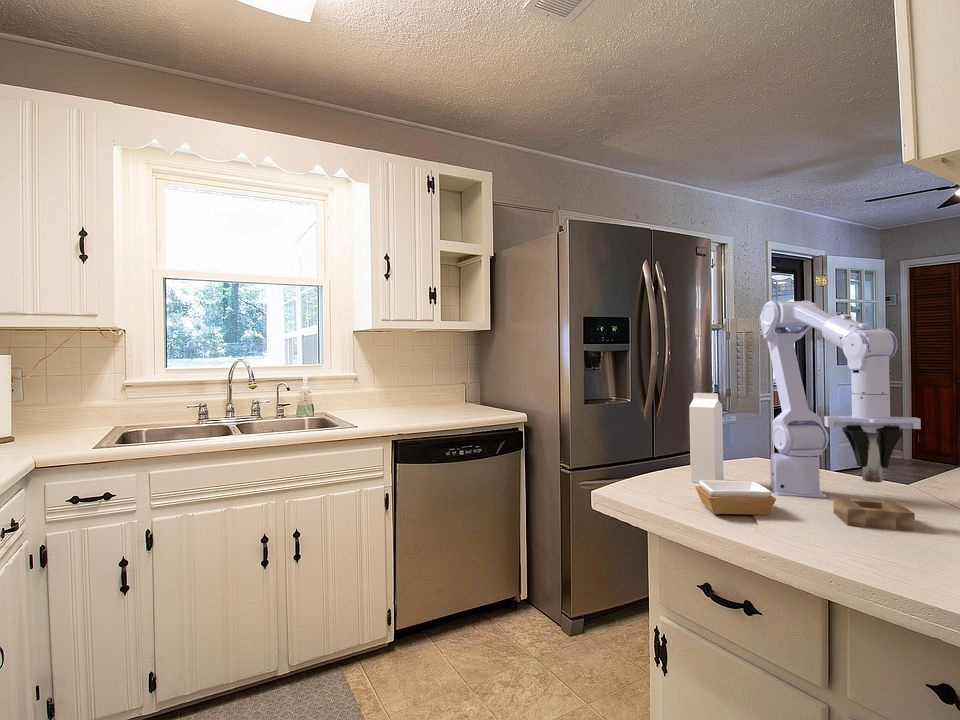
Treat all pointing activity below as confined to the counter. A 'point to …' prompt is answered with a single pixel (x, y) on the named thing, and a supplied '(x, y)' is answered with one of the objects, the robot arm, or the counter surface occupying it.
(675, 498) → the counter surface
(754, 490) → the soap dish
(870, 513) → the block
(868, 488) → the counter surface
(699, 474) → the milk
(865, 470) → the peg
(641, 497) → the counter surface
